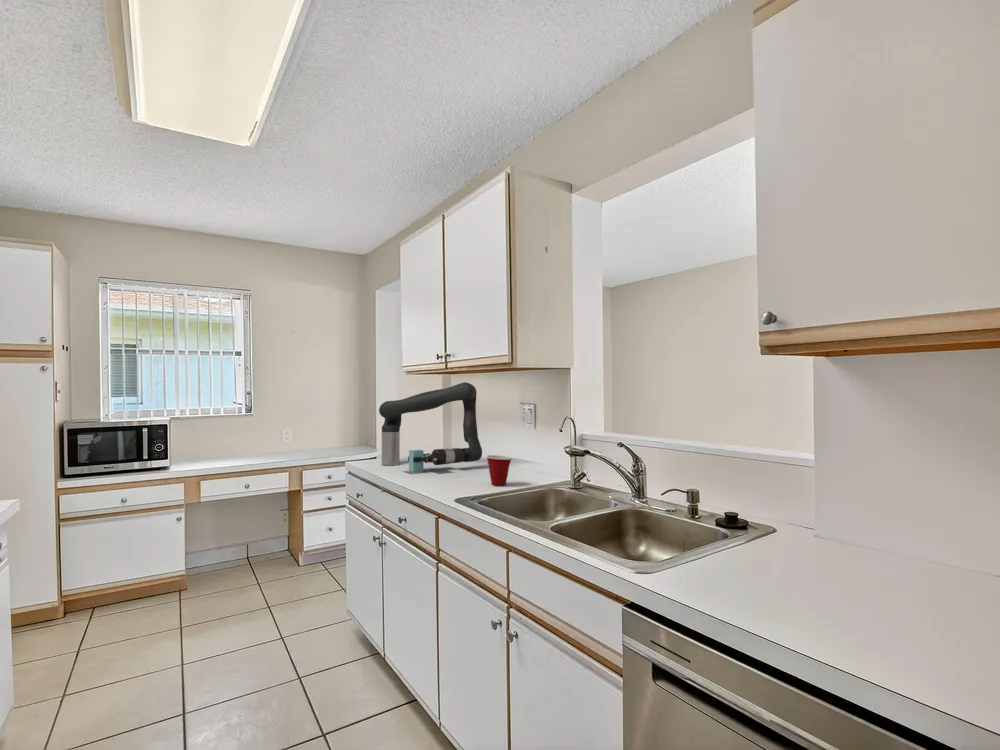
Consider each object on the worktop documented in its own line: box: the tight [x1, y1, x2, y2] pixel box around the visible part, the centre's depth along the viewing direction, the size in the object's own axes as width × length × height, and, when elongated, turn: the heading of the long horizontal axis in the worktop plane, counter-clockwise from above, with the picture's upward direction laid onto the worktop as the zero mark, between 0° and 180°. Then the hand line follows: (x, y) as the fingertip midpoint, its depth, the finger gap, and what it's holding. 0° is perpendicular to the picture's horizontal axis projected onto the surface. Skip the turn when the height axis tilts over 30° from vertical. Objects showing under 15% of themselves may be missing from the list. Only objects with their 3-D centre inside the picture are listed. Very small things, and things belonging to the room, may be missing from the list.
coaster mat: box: [432, 469, 455, 475], centre depth 241 cm, size 8×8×1 cm
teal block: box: [408, 449, 424, 473], centre depth 242 cm, size 5×5×10 cm
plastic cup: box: [485, 454, 513, 487], centre depth 214 cm, size 11×11×12 cm
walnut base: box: [402, 469, 431, 475], centre depth 242 cm, size 10×10×5 cm
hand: (411, 459), depth 241 cm, fingers closed on teal block, 5 cm apart
